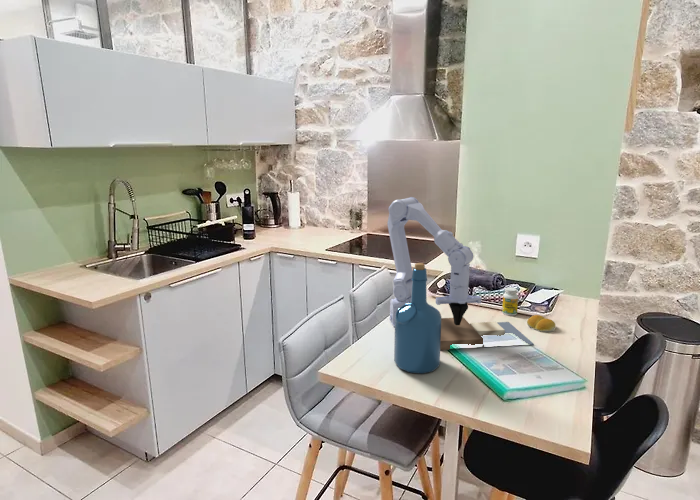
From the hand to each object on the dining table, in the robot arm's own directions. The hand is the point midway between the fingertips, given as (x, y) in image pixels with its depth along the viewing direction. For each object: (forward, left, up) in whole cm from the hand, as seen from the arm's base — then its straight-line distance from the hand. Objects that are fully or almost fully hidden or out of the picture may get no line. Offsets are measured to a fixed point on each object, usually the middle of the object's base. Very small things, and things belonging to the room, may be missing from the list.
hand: (457, 324), depth 147 cm
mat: (+14, -1, -4) cm, 14 cm away
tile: (+10, 0, -4) cm, 11 cm away
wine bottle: (-18, -18, -4) cm, 25 cm away
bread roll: (+31, +4, -5) cm, 32 cm away
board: (-2, -1, -4) cm, 5 cm away
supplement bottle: (+26, +17, -4) cm, 32 cm away
